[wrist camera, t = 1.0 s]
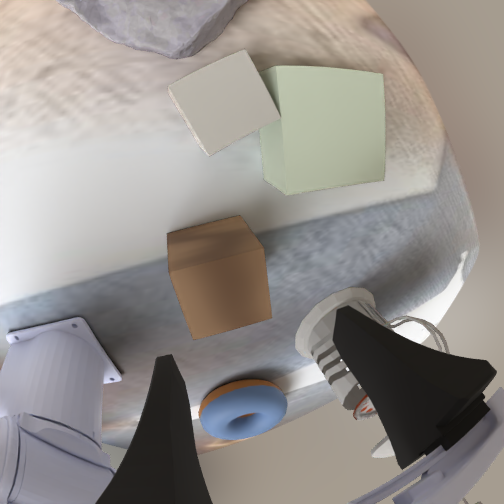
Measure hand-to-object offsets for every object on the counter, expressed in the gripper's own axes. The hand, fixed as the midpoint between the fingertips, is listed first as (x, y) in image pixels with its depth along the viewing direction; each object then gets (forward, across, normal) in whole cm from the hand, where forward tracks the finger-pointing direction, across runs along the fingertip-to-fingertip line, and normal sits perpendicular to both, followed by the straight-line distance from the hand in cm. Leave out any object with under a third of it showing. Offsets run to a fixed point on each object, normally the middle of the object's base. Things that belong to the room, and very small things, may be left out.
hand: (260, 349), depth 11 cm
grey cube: (+10, -1, -10) cm, 14 cm away
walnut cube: (+10, +1, +1) cm, 10 cm away
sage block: (+10, -7, -8) cm, 14 cm away
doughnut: (+10, +1, +20) cm, 22 cm away
